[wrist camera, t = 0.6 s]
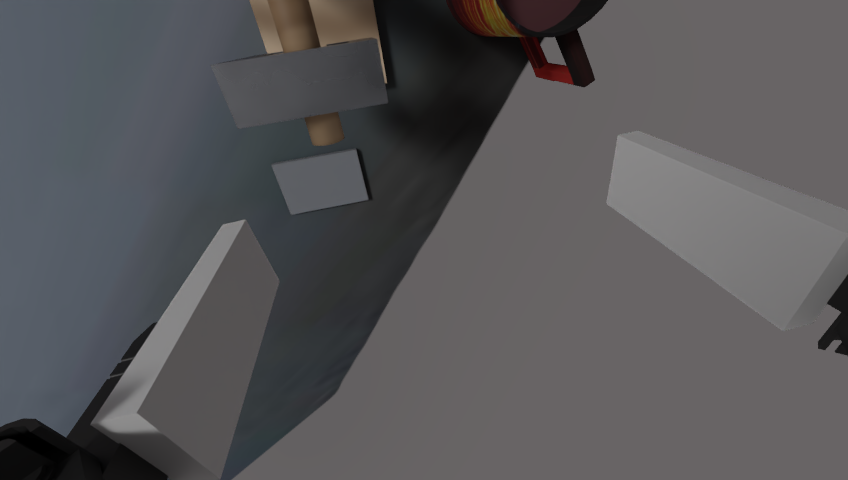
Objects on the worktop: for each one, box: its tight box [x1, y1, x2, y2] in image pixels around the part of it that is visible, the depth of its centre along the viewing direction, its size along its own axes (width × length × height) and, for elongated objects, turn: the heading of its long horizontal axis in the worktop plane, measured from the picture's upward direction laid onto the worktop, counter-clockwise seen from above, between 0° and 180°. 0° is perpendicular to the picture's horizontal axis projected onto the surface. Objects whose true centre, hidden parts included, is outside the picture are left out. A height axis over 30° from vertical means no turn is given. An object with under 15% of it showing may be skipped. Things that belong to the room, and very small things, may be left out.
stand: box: [250, 0, 387, 146], centre depth 22 cm, size 13×10×20 cm
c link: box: [211, 37, 388, 129], centre depth 20 cm, size 8×3×8 cm, turn 98°
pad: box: [272, 148, 368, 215], centre depth 37 cm, size 6×9×1 cm, turn 98°
